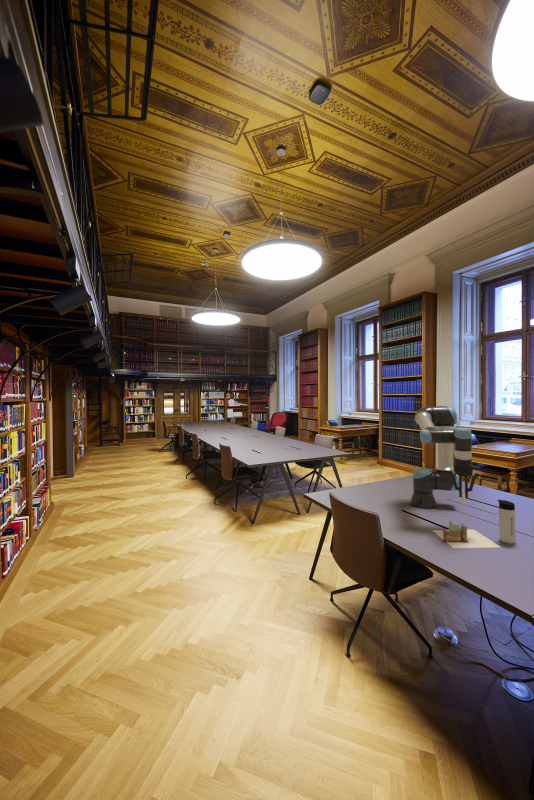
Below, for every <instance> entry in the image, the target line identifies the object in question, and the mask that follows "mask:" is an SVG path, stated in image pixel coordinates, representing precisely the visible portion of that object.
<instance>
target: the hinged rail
mask: <svg viewBox="0 0 534 800" xmlns="http://www.w3.org/2000/svg"><path fill="white" fill-rule="evenodd" d="M448 530H450V531H461V527H460V526H459V525H457V524H456V523H455V522H453V520H451V519H450V520H449V519H448Z"/></svg>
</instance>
